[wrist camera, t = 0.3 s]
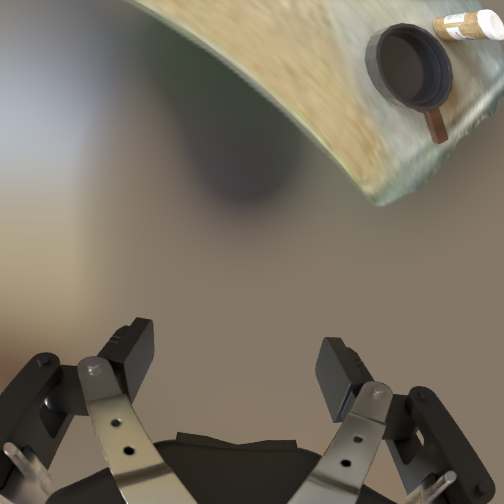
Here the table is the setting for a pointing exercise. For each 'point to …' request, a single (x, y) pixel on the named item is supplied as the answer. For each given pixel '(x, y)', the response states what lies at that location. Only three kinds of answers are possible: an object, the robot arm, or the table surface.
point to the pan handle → (436, 125)
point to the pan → (409, 67)
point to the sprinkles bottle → (470, 26)
